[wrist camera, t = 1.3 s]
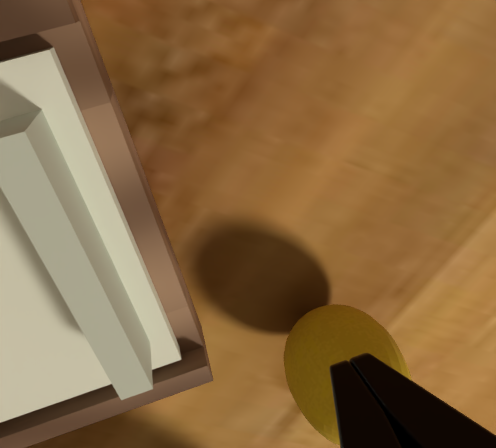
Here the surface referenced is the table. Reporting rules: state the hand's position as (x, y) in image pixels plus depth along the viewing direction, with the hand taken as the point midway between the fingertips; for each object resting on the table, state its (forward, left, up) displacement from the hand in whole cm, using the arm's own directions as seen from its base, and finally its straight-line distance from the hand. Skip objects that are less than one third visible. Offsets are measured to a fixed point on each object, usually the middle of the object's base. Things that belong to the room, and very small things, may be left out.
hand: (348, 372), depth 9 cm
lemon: (-10, -2, -12) cm, 16 cm away
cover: (0, +10, -9) cm, 13 cm away
